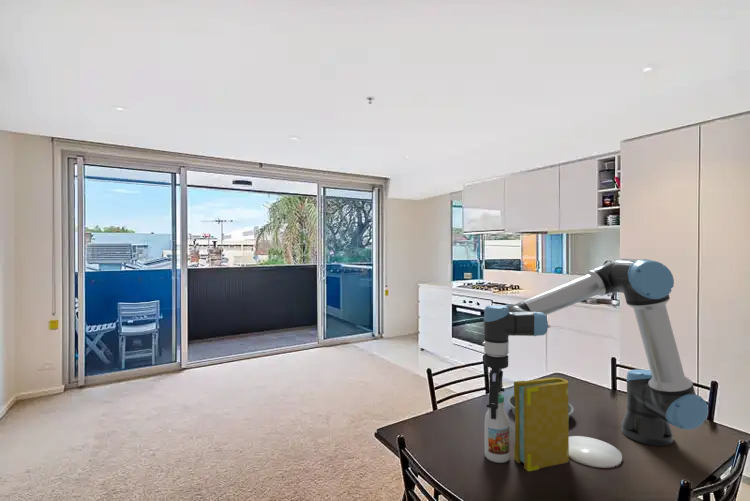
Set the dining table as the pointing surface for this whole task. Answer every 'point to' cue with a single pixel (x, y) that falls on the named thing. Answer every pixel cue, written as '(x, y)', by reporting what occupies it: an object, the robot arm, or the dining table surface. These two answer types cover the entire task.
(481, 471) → the dining table surface
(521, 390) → the book
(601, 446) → the white round plate
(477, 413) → the dining table surface
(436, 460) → the dining table surface
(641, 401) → the robot arm
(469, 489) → the dining table surface
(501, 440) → the milk bottle
